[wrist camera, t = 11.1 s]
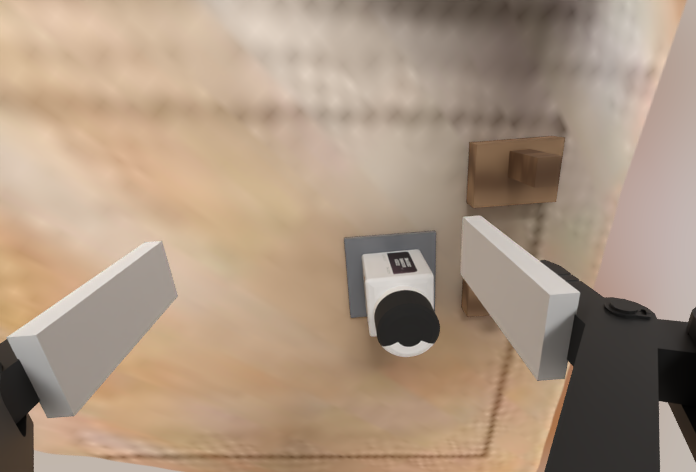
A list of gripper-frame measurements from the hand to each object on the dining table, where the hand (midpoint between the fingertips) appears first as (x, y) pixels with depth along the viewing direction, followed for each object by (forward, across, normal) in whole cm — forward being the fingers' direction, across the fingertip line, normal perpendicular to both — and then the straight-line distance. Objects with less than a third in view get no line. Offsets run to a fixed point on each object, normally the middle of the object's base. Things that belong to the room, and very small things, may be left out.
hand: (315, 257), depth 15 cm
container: (+28, +7, -16) cm, 33 cm away
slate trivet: (+29, +7, -16) cm, 33 cm away
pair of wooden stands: (+29, +22, -11) cm, 37 cm away
